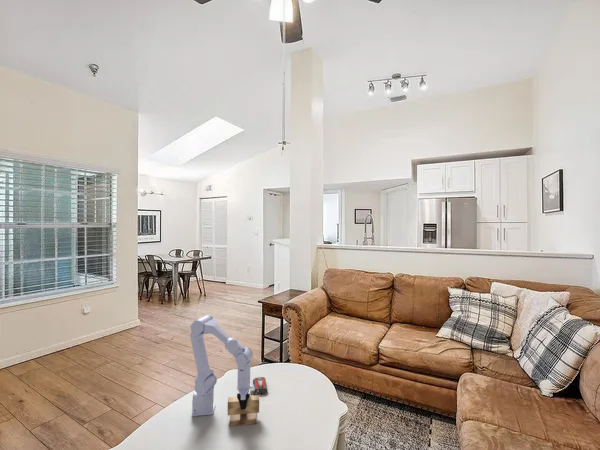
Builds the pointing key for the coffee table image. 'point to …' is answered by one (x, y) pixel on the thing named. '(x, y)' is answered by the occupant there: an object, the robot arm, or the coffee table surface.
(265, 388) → the walkie-talkie
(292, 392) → the coffee table surface
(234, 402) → the oak bar
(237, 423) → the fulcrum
